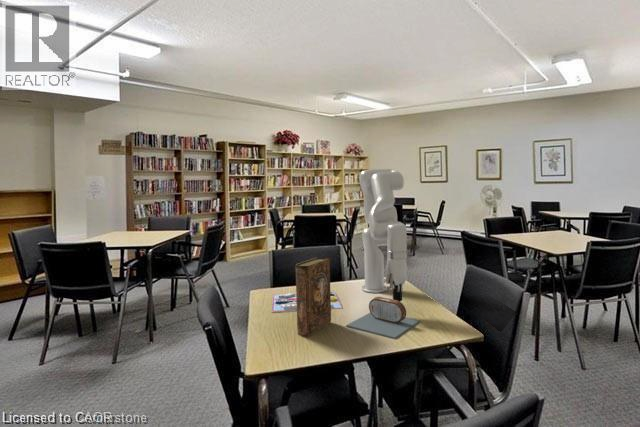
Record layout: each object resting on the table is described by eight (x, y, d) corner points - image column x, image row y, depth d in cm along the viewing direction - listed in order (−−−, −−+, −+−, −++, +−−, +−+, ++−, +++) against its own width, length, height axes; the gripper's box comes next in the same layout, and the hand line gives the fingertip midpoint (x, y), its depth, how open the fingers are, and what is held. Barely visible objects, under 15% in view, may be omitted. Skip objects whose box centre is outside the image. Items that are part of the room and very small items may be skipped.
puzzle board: (271, 314, 159) (271, 308, 158) (272, 298, 182) (272, 293, 181) (343, 310, 162) (343, 304, 162) (335, 295, 185) (335, 289, 184)
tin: (406, 323, 141) (406, 301, 140) (402, 325, 138) (402, 303, 138) (372, 315, 150) (371, 294, 150) (367, 317, 148) (367, 296, 147)
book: (308, 337, 132) (306, 266, 130) (295, 334, 134) (293, 265, 133) (331, 322, 146) (329, 258, 144) (319, 320, 149) (317, 257, 147)
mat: (374, 311, 156) (374, 310, 156) (419, 321, 144) (419, 320, 144) (346, 326, 141) (346, 325, 141) (395, 339, 128) (395, 337, 128)
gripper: (397, 251, 157) (397, 294, 159) (379, 257, 146) (379, 303, 147) (414, 252, 153) (414, 297, 154) (396, 259, 141) (397, 307, 142)
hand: (397, 300), depth 151 cm, fingers closed
